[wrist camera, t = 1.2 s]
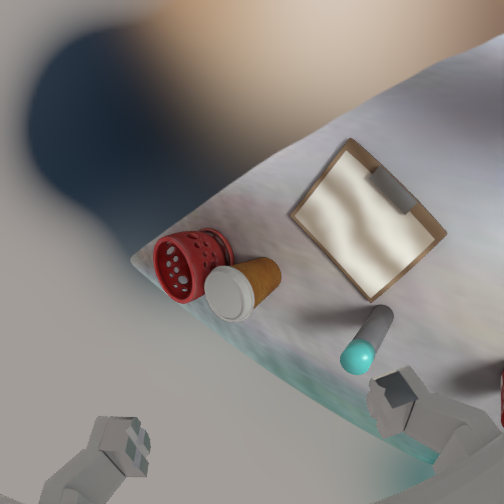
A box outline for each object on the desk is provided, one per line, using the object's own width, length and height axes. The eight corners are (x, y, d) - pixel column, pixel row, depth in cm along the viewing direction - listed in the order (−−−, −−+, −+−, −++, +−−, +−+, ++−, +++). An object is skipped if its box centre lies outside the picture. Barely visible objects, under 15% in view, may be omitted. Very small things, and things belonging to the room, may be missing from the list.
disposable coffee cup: (274, 241, 53) (229, 260, 44) (297, 290, 53) (257, 318, 44) (239, 258, 60) (194, 277, 51) (259, 302, 59) (218, 328, 50)
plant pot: (209, 210, 61) (162, 221, 52) (250, 257, 58) (205, 277, 49) (187, 252, 69) (144, 266, 60) (222, 295, 66) (180, 317, 57)
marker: (383, 299, 44) (355, 343, 33) (399, 317, 42) (375, 366, 32) (366, 313, 46) (334, 357, 36) (381, 330, 45) (353, 379, 35)
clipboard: (352, 138, 40) (347, 137, 38) (447, 232, 35) (446, 236, 33) (293, 214, 50) (286, 216, 48) (372, 300, 45) (368, 306, 43)
